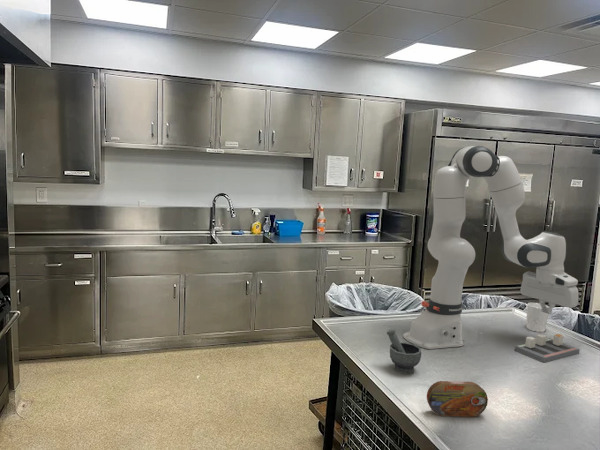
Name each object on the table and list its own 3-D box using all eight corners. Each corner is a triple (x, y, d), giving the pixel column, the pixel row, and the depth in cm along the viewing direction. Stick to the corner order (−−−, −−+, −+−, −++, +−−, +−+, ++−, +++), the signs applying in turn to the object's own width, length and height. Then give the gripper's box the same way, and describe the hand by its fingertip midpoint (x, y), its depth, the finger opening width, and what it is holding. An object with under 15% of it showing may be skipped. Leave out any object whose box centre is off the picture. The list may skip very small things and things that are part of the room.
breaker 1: (530, 348, 157) (531, 339, 157) (525, 346, 159) (526, 337, 159) (534, 347, 159) (535, 338, 158) (529, 345, 160) (530, 336, 160)
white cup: (541, 326, 187) (544, 303, 186) (550, 333, 179) (552, 309, 178) (521, 325, 188) (524, 302, 187) (529, 331, 180) (532, 307, 179)
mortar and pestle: (423, 368, 142) (426, 331, 140) (415, 379, 134) (418, 340, 132) (389, 359, 148) (392, 324, 146) (379, 369, 139) (381, 332, 138)
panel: (544, 362, 150) (544, 358, 150) (514, 350, 160) (515, 346, 160) (578, 353, 160) (579, 348, 160) (549, 342, 169) (549, 338, 169)
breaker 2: (541, 345, 160) (542, 337, 160) (535, 343, 162) (536, 335, 162) (545, 344, 161) (546, 336, 161) (540, 342, 163) (541, 334, 163)
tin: (427, 415, 114) (430, 384, 113) (424, 409, 117) (426, 378, 116) (486, 418, 114) (489, 386, 113) (481, 411, 117) (484, 380, 116)
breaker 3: (558, 345, 161) (559, 336, 161) (552, 343, 163) (553, 334, 162) (562, 344, 162) (563, 335, 162) (556, 342, 164) (558, 333, 163)
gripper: (518, 271, 172) (515, 306, 174) (572, 283, 154) (568, 322, 156) (528, 269, 175) (526, 304, 177) (582, 281, 157) (579, 319, 159)
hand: (546, 312), depth 166 cm, fingers closed
